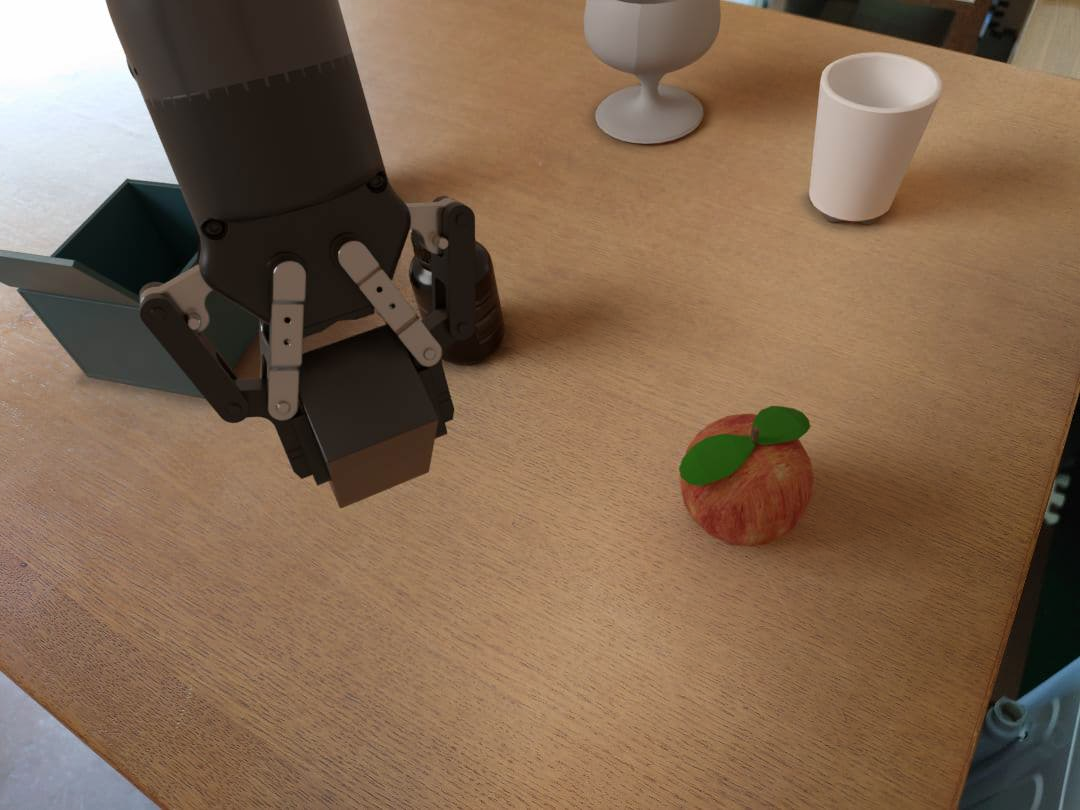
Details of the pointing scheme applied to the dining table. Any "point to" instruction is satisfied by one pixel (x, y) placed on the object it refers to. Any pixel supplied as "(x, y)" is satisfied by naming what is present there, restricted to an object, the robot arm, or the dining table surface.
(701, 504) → the fruit
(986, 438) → the dining table surface
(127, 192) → the carton
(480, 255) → the supplement bottle
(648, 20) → the chalice
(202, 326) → the robot arm
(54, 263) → the flap
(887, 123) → the cup
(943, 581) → the dining table surface
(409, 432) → the block
